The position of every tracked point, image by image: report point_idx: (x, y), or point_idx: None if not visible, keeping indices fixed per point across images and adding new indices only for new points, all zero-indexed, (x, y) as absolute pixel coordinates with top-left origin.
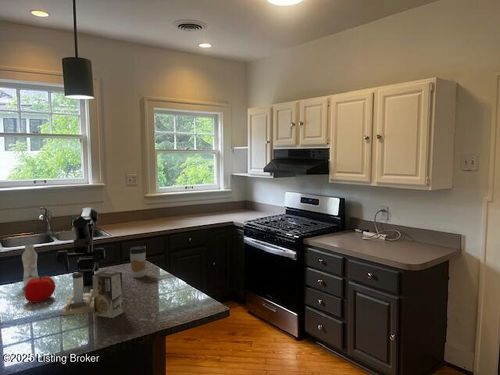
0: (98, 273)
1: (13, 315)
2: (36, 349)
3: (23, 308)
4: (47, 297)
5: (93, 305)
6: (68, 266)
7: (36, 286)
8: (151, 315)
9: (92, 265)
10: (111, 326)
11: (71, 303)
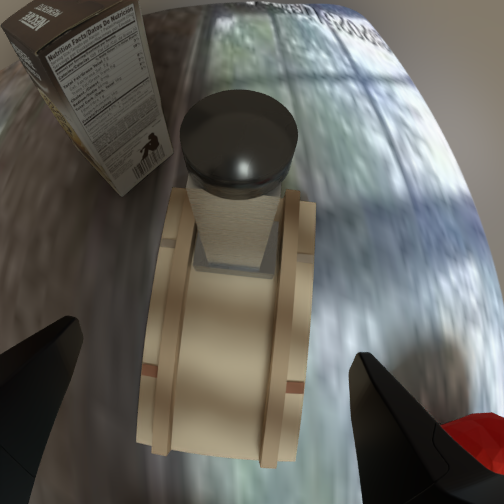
0: (93, 6)
1: (485, 303)
2: (331, 35)
3: (471, 376)
4: None
5: (163, 232)
6: (386, 447)
7: (489, 437)
8: (31, 103)
9: (29, 353)
10: None
11: (276, 222)
